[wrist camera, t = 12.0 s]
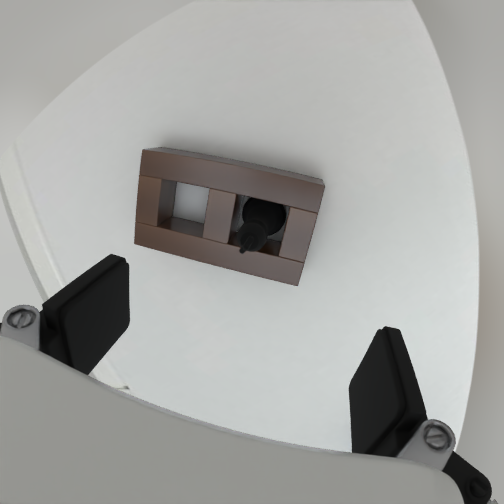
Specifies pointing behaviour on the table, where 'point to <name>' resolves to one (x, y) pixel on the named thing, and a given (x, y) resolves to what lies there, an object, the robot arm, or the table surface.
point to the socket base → (225, 211)
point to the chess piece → (259, 223)
